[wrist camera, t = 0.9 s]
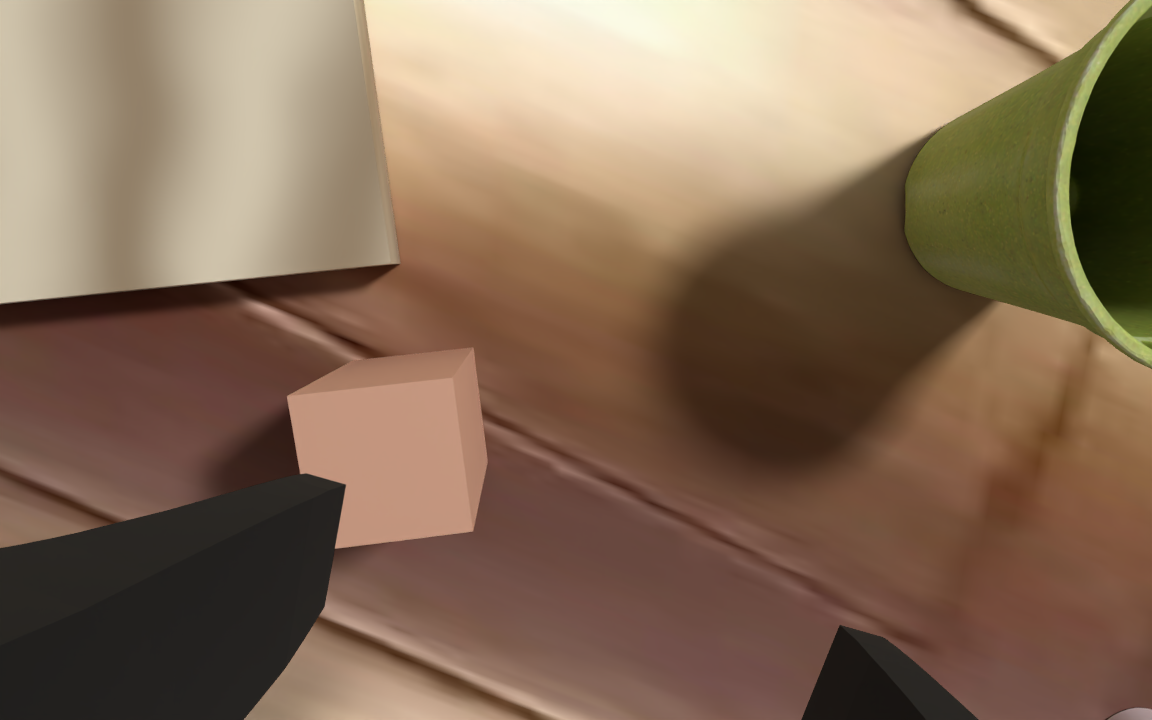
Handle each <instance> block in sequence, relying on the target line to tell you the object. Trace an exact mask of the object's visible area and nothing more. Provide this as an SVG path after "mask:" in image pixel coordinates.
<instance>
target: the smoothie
mask: <svg viewBox="0 0 1152 720" xmlns="http://www.w3.org/2000/svg"><path fill="white" fill-rule="evenodd" d="M1108 720H1152V710H1151V709H1146V708H1132V709H1127V710H1124V711H1121V712H1119V713H1117V714H1115V715H1113V716H1112V717H1110V718H1109V719H1108Z"/></svg>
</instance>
